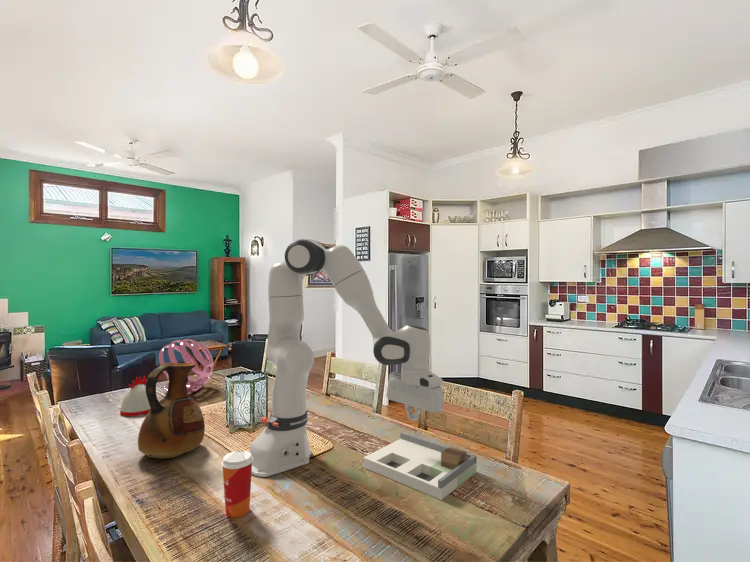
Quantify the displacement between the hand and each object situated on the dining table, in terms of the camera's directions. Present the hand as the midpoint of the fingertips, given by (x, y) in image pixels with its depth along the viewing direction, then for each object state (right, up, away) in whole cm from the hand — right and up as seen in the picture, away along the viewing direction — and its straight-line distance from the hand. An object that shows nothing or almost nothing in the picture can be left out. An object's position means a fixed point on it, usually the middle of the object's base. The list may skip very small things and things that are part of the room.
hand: (412, 419), depth 128 cm
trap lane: (+1, -14, -5) cm, 15 cm away
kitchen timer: (-116, -13, +49) cm, 127 cm away
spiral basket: (-108, -13, +78) cm, 134 cm away
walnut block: (+11, -11, -8) cm, 18 cm away
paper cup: (-47, -14, -27) cm, 55 cm away
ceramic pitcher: (-80, -14, +8) cm, 82 cm away
